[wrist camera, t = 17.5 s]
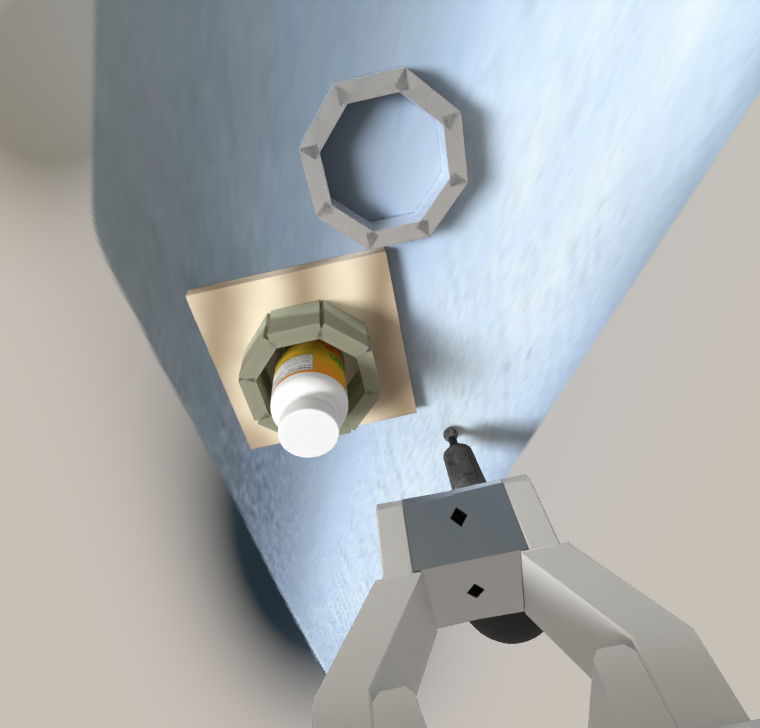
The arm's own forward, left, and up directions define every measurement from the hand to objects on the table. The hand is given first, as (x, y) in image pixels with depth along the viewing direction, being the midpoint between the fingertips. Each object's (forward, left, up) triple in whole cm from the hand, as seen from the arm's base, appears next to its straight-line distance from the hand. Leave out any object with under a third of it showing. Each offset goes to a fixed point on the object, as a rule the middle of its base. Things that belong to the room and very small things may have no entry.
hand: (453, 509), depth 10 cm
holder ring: (-2, -1, -30) cm, 30 cm away
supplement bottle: (+6, +12, -29) cm, 32 cm away
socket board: (+6, +12, -30) cm, 33 cm away
